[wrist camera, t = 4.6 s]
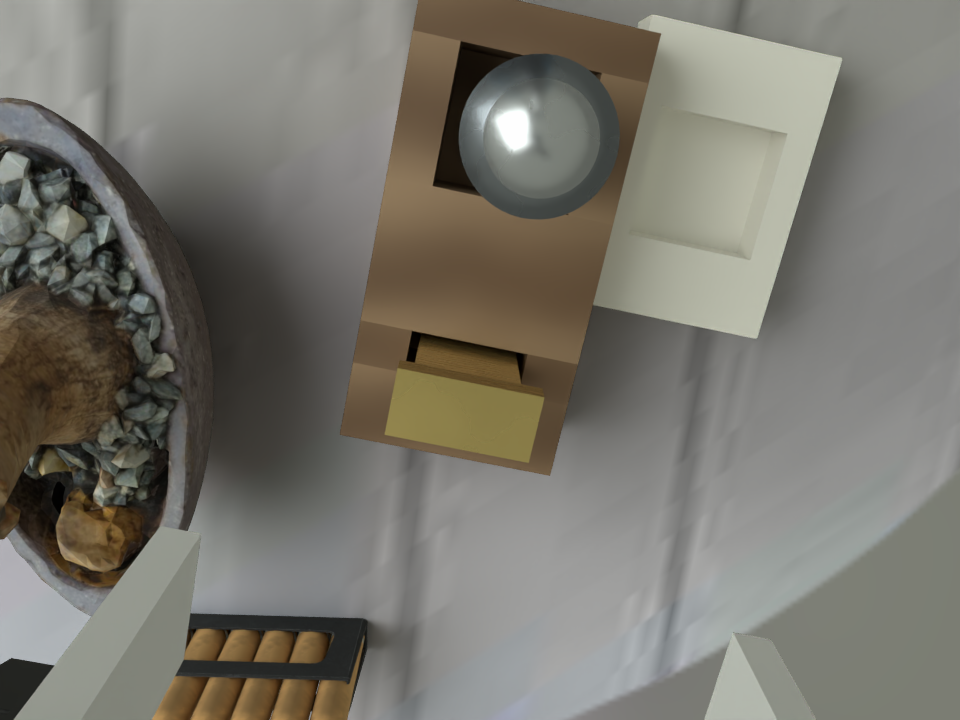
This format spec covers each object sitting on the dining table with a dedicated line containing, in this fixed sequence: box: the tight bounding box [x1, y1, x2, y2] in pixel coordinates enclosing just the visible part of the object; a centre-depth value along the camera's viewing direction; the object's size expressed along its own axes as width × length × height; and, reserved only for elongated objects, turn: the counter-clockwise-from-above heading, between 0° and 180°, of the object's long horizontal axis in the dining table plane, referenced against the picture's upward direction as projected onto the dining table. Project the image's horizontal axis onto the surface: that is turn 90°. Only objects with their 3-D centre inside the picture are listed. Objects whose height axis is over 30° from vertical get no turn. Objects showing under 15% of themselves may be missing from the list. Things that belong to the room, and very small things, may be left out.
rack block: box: [593, 14, 843, 339], centre depth 38 cm, size 12×8×3 cm, turn 168°
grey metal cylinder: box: [459, 54, 620, 220], centre depth 29 cm, size 4×4×17 cm
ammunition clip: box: [152, 614, 367, 720], centre depth 40 cm, size 11×2×12 cm, turn 88°
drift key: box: [385, 333, 545, 463], centre depth 34 cm, size 2×5×10 cm, turn 78°
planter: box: [0, 98, 214, 616], centre depth 32 cm, size 15×17×20 cm
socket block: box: [340, 0, 661, 476], centre depth 37 cm, size 18×9×6 cm, turn 168°
